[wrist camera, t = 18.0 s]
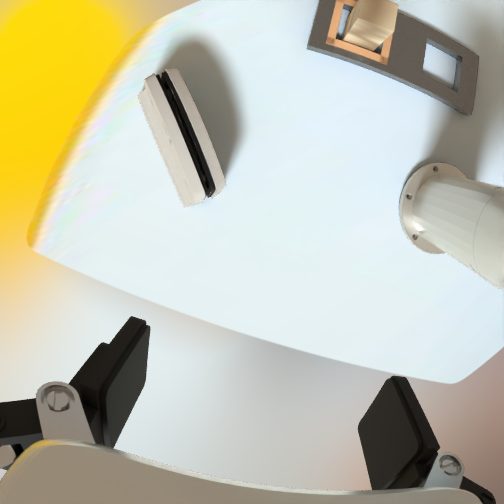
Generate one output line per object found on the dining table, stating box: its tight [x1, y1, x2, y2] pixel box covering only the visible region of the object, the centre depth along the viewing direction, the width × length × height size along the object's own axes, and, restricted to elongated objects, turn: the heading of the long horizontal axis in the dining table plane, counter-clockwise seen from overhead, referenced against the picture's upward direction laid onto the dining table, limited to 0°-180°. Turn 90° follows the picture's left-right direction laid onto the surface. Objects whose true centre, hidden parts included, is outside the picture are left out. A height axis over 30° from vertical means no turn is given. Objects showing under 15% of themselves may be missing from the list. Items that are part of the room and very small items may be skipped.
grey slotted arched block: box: [138, 68, 226, 207], centre depth 34 cm, size 17×5×10 cm, turn 22°
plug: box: [341, 0, 398, 52], centre depth 28 cm, size 4×4×9 cm
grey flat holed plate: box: [307, 0, 479, 115], centre depth 31 cm, size 24×10×2 cm, turn 76°
